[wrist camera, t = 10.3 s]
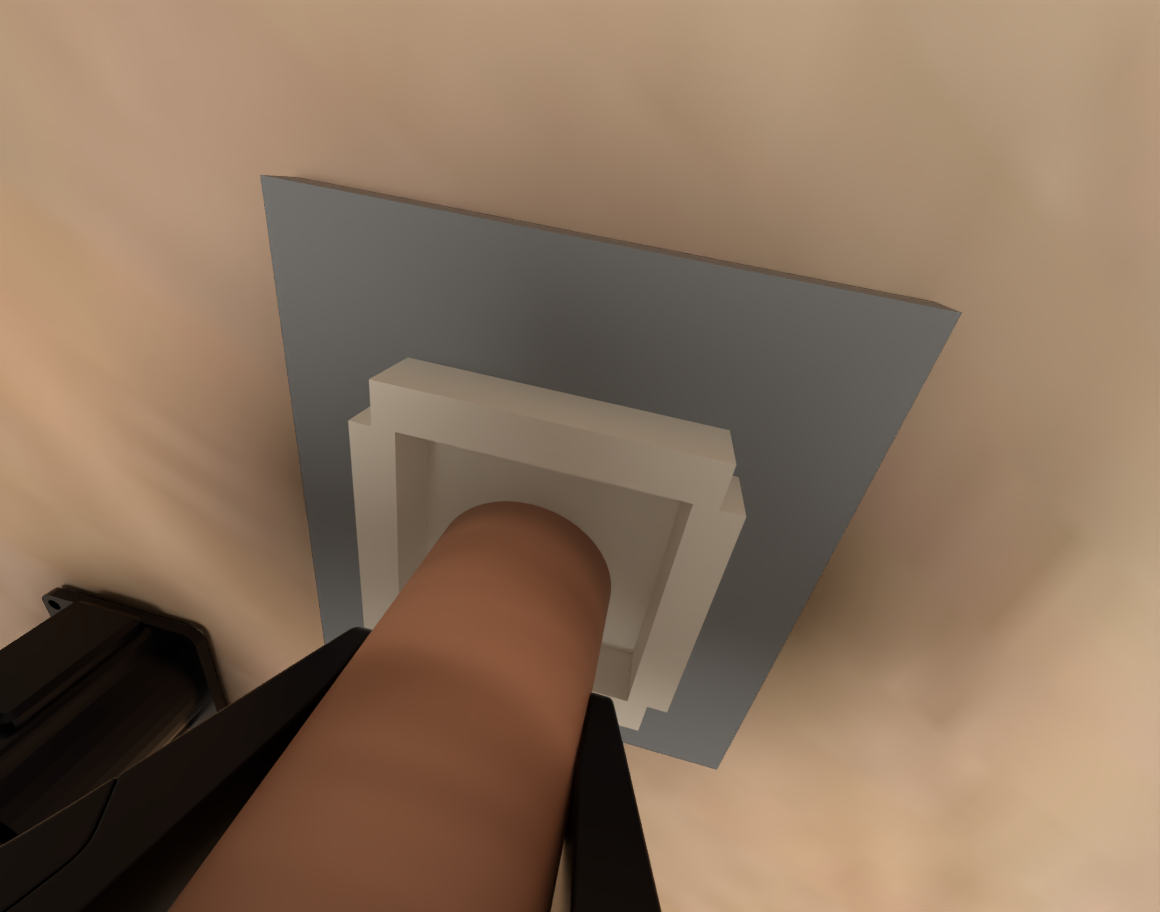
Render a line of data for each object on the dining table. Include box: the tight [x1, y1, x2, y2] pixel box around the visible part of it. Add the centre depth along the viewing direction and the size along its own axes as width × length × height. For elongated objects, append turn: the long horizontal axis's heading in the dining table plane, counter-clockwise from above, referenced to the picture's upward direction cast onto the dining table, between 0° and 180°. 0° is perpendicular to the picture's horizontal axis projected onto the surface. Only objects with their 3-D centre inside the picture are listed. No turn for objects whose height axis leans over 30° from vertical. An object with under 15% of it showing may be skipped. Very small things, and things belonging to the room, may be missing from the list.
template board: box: [260, 175, 961, 770], centre depth 12 cm, size 14×13×2 cm
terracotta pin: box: [167, 501, 611, 912], centre depth 7 cm, size 4×4×8 cm
